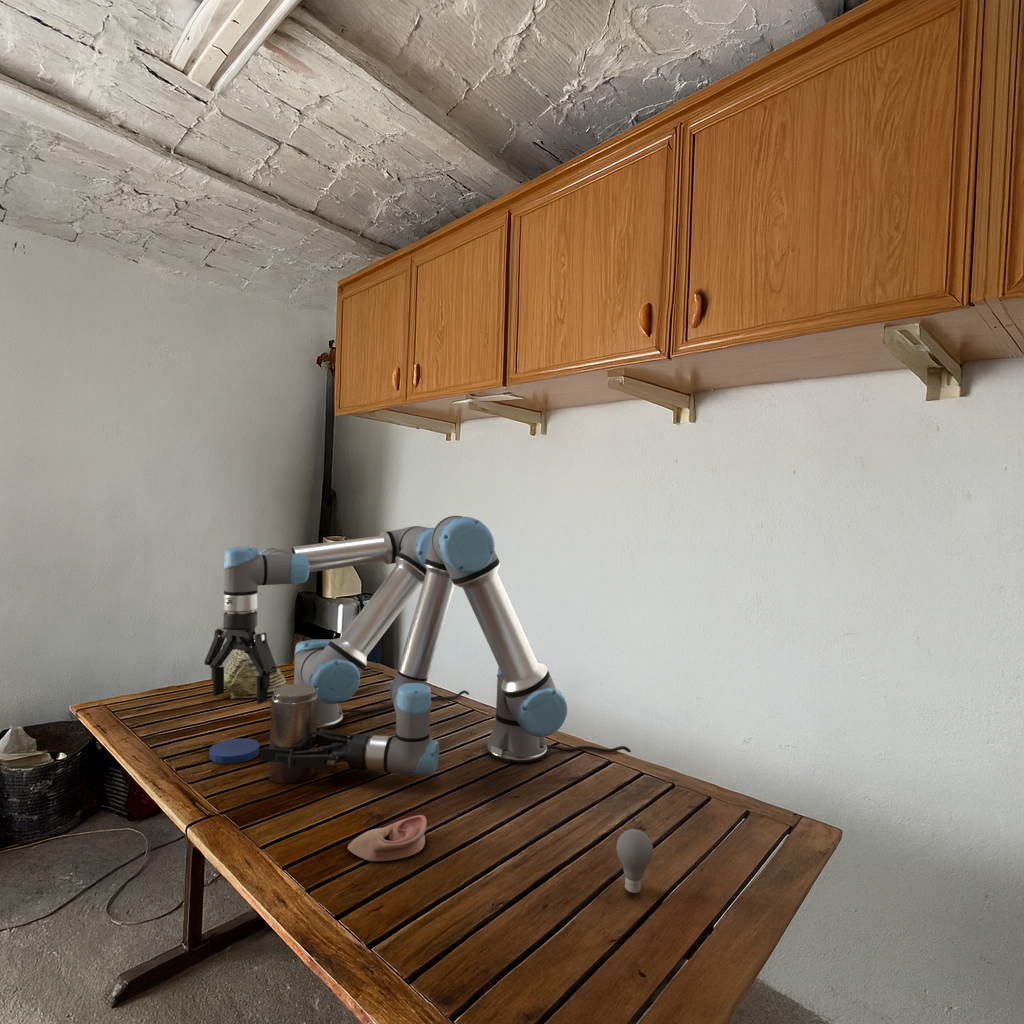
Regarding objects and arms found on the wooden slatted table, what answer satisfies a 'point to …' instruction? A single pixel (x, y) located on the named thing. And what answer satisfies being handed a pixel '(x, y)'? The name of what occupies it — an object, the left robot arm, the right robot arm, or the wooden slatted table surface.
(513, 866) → the wooden slatted table surface
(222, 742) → the lid
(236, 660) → the fossil
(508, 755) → the right robot arm
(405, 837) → the anatomical model
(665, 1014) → the wooden slatted table surface
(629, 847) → the light bulb
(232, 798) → the wooden slatted table surface
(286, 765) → the jar
